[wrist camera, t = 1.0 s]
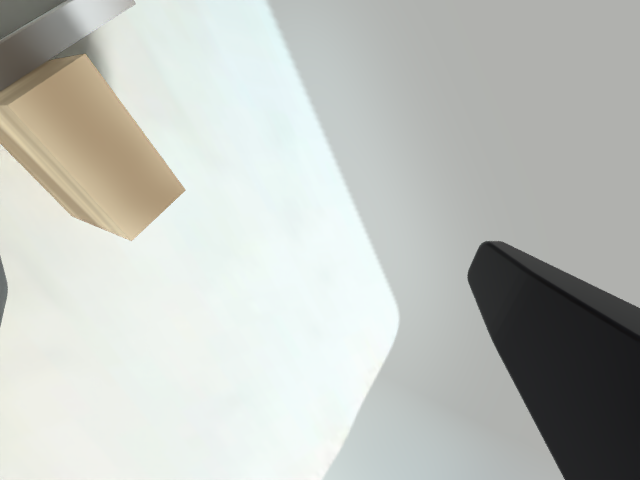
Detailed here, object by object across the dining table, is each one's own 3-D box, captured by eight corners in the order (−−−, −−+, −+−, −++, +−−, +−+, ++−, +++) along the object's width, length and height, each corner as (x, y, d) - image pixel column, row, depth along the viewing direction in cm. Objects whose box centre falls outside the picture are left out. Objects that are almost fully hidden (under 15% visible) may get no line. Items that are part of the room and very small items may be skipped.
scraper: (-13, 287, 20) (33, 333, 16) (-193, 151, 15) (-190, 168, 11) (182, 122, 25) (254, 125, 21) (92, -16, 20) (161, -44, 16)
